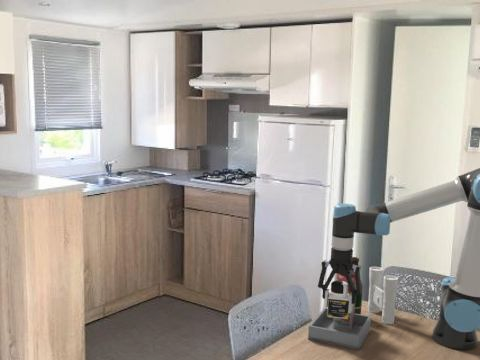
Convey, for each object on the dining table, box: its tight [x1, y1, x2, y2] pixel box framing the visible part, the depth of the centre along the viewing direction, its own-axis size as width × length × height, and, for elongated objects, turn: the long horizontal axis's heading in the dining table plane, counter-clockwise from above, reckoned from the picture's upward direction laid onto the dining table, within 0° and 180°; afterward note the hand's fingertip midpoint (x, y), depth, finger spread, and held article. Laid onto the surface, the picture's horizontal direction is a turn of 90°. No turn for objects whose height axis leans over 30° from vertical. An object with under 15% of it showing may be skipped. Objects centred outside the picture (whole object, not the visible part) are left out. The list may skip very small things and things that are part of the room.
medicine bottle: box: [327, 280, 349, 319], centre depth 194 cm, size 7×7×12 cm
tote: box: [307, 308, 372, 351], centre depth 200 cm, size 18×20×5 cm
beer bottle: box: [350, 256, 363, 315], centre depth 217 cm, size 8×8×24 cm
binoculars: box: [367, 266, 399, 325], centre depth 218 cm, size 17×5×18 cm, turn 14°
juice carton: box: [333, 271, 356, 332], centre depth 203 cm, size 7×7×22 cm
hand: (338, 309), depth 195 cm, fingers closed on medicine bottle, 8 cm apart
